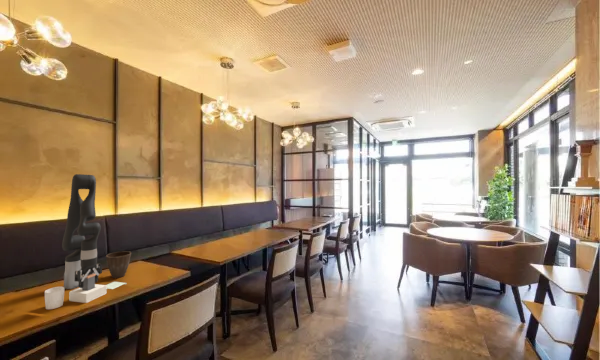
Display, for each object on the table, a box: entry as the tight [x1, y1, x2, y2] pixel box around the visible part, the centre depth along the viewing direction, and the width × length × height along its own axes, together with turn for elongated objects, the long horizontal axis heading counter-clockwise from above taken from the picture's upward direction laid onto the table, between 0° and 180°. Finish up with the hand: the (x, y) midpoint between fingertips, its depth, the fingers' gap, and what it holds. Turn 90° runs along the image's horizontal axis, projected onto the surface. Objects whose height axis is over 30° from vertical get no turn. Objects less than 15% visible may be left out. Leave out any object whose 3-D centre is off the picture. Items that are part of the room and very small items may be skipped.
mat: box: [106, 281, 127, 290], centre depth 166 cm, size 10×10×1 cm
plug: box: [82, 274, 96, 291], centre depth 149 cm, size 5×5×13 cm
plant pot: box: [105, 250, 132, 279], centre depth 184 cm, size 15×15×16 cm
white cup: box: [44, 286, 65, 310], centre depth 138 cm, size 8×8×10 cm
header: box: [68, 283, 108, 304], centre depth 149 cm, size 12×12×6 cm
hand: (88, 284), depth 149 cm, fingers open, 8 cm apart
